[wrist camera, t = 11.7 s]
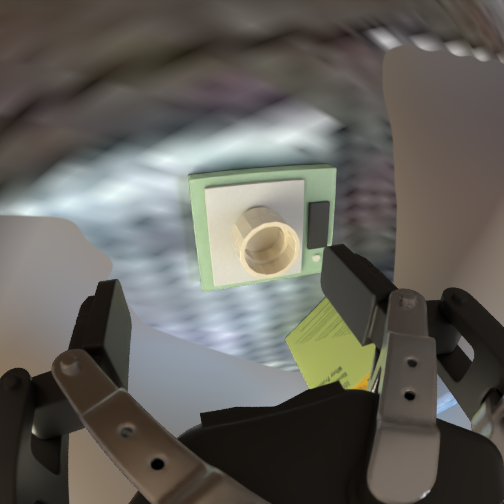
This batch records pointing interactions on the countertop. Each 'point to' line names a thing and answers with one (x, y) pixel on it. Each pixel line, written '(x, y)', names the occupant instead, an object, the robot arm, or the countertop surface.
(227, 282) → the scale
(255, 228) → the beige cup
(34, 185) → the countertop surface
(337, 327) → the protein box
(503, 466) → the robot arm
